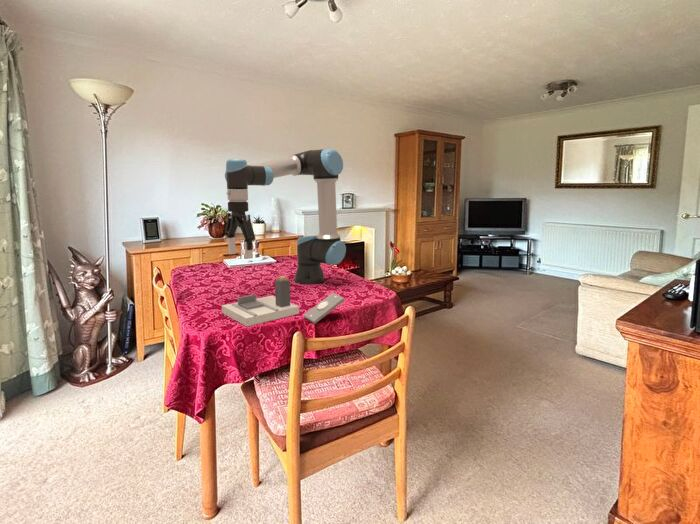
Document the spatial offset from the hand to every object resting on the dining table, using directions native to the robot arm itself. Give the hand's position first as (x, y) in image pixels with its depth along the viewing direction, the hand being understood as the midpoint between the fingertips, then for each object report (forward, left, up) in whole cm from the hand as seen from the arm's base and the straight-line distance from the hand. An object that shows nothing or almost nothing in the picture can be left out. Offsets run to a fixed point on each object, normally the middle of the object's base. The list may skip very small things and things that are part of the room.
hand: (240, 256), depth 158 cm
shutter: (+9, -1, -18) cm, 20 cm away
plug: (+15, +9, -18) cm, 25 cm away
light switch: (+30, +18, -21) cm, 41 cm away
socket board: (+10, +2, -21) cm, 24 cm away
